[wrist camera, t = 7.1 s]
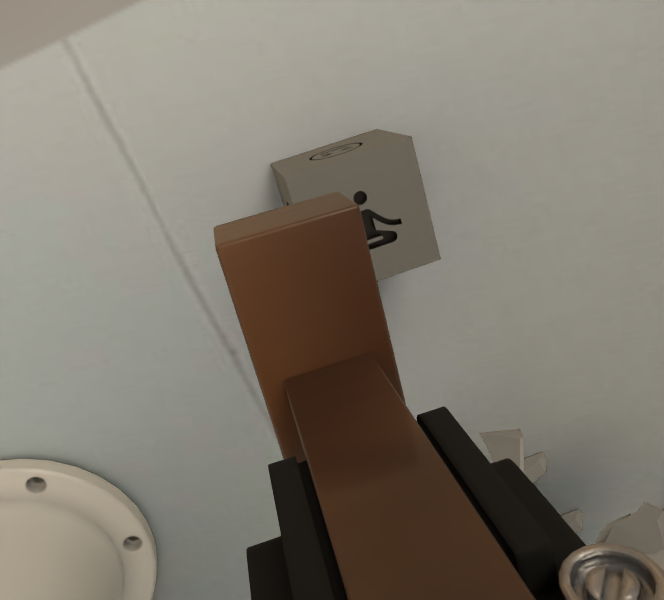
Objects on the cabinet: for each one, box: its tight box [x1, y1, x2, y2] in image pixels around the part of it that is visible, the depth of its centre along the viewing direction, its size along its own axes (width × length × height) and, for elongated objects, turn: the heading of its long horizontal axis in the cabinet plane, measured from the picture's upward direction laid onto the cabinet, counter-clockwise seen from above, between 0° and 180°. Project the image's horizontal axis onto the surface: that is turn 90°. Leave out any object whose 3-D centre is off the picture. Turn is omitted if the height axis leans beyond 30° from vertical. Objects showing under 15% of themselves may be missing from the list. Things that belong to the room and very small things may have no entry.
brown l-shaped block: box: [214, 192, 536, 600], centre depth 12 cm, size 3×10×11 cm, turn 14°
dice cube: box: [271, 129, 441, 281], centre depth 27 cm, size 5×5×5 cm
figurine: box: [480, 429, 664, 570], centre depth 32 cm, size 18×13×11 cm
